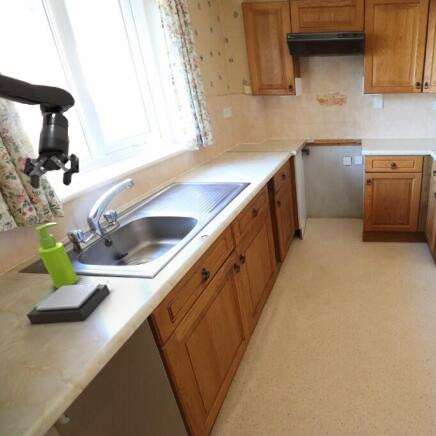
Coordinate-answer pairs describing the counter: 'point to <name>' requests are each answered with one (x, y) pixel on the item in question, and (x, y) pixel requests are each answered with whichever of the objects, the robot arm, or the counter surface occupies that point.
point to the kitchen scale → (69, 303)
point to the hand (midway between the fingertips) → (50, 186)
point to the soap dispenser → (55, 258)
